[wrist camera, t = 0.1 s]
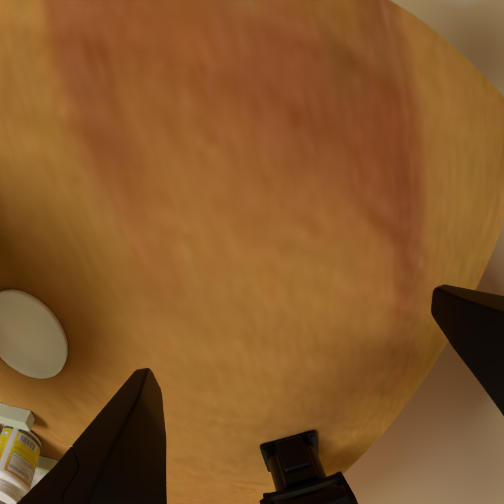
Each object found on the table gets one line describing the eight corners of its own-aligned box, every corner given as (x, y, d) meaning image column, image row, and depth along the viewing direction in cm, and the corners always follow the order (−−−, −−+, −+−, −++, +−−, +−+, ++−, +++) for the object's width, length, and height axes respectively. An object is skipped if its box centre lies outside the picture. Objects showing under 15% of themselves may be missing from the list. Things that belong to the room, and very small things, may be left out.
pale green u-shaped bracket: (30, 410, 25) (25, 423, 23) (60, 465, 29) (57, 476, 27) (-28, 394, 23) (-35, 404, 22) (5, 450, 27) (2, 460, 25)
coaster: (84, 368, 24) (82, 374, 24) (16, 376, 24) (13, 381, 23) (40, 279, 21) (37, 283, 20) (-26, 298, 20) (-30, 302, 20)
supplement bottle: (9, 439, 26) (-12, 496, 17) (1, 414, 25) (-26, 476, 15) (45, 454, 28) (29, 515, 18) (40, 431, 26) (19, 498, 17)
